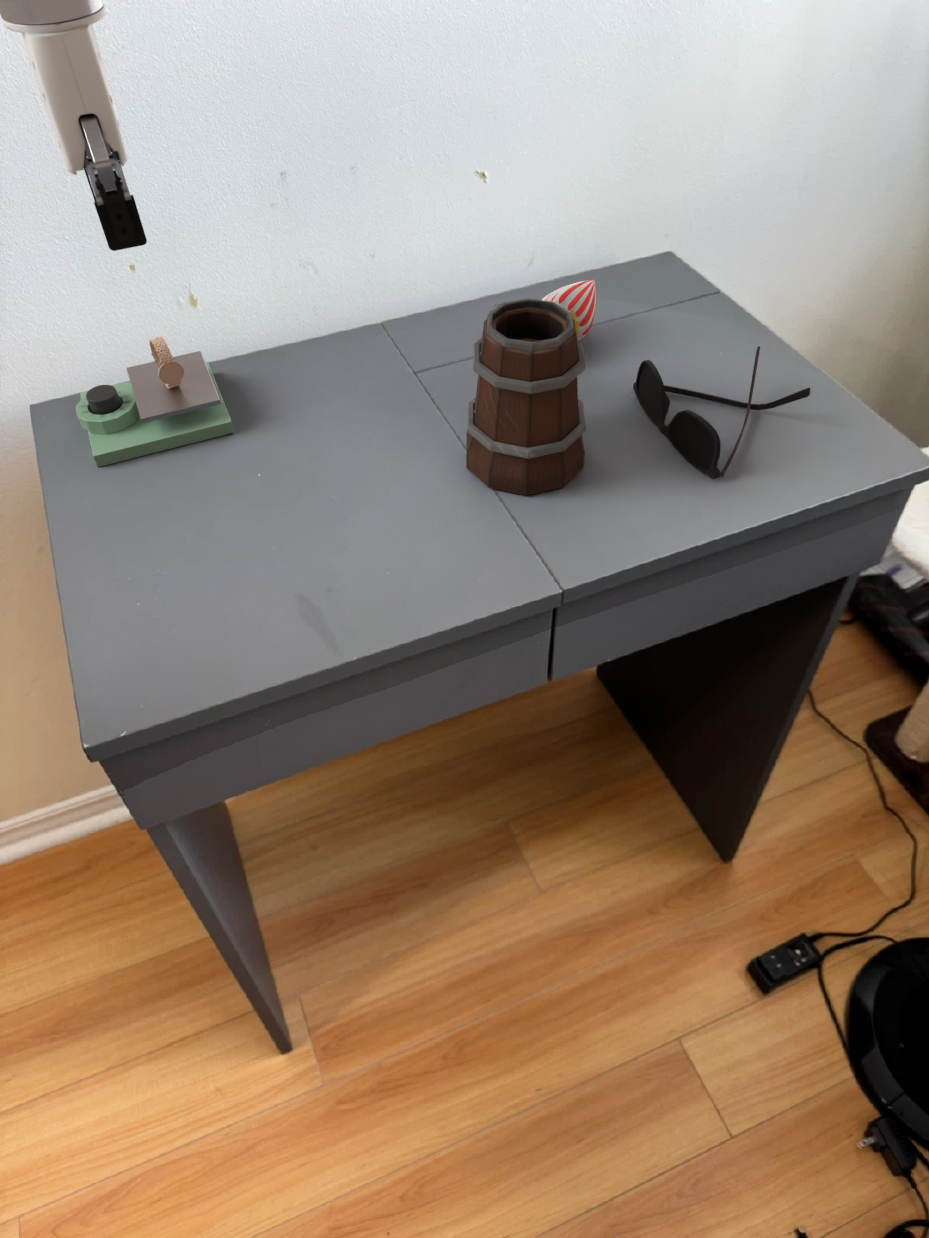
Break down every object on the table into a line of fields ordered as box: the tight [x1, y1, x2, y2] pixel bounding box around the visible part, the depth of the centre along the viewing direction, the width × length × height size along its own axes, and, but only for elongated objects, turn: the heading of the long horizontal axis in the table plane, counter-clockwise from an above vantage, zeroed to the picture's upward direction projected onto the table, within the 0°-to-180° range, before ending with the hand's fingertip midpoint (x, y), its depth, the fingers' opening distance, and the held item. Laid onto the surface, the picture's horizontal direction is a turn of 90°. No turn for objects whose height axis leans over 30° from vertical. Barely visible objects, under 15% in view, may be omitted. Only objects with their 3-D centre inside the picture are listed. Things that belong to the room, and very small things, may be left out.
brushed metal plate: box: [126, 350, 221, 423], centre depth 91 cm, size 8×10×1 cm
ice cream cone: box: [541, 279, 597, 342], centre depth 98 cm, size 6×6×20 cm
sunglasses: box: [632, 345, 811, 480], centre depth 89 cm, size 17×14×5 cm
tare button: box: [86, 384, 121, 415], centre depth 90 cm, size 3×3×2 cm
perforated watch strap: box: [148, 336, 185, 389], centre depth 89 cm, size 3×5×5 cm, turn 30°
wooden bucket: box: [465, 297, 587, 496], centre depth 83 cm, size 16×12×15 cm
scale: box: [75, 362, 235, 468], centre depth 92 cm, size 14×12×3 cm
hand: (120, 223), depth 79 cm, fingers open, 9 cm apart
